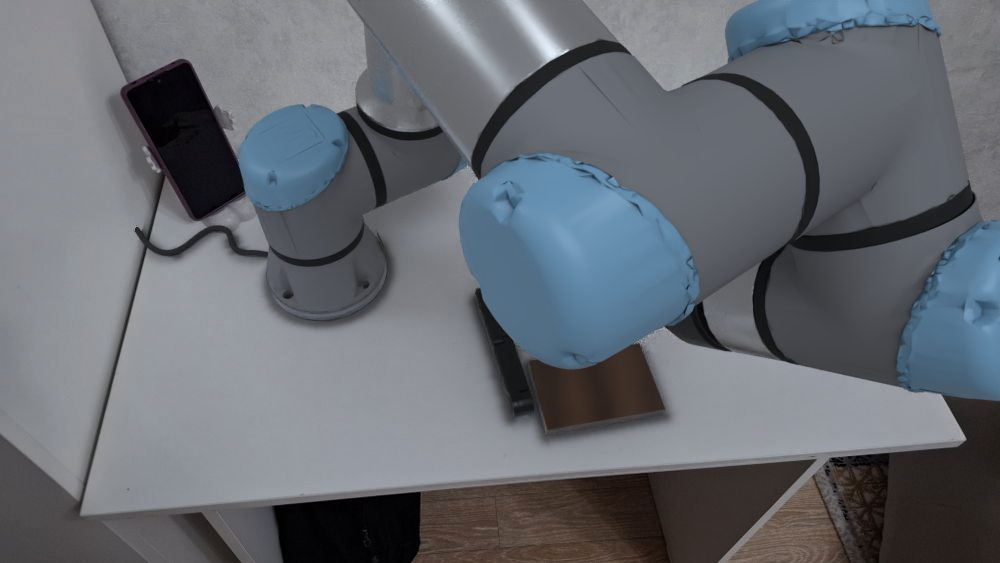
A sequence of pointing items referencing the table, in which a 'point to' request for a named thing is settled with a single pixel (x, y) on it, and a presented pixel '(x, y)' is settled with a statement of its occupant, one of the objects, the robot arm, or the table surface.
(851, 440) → the table surface
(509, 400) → the black long bar
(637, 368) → the board
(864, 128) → the robot arm
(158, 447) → the table surface
